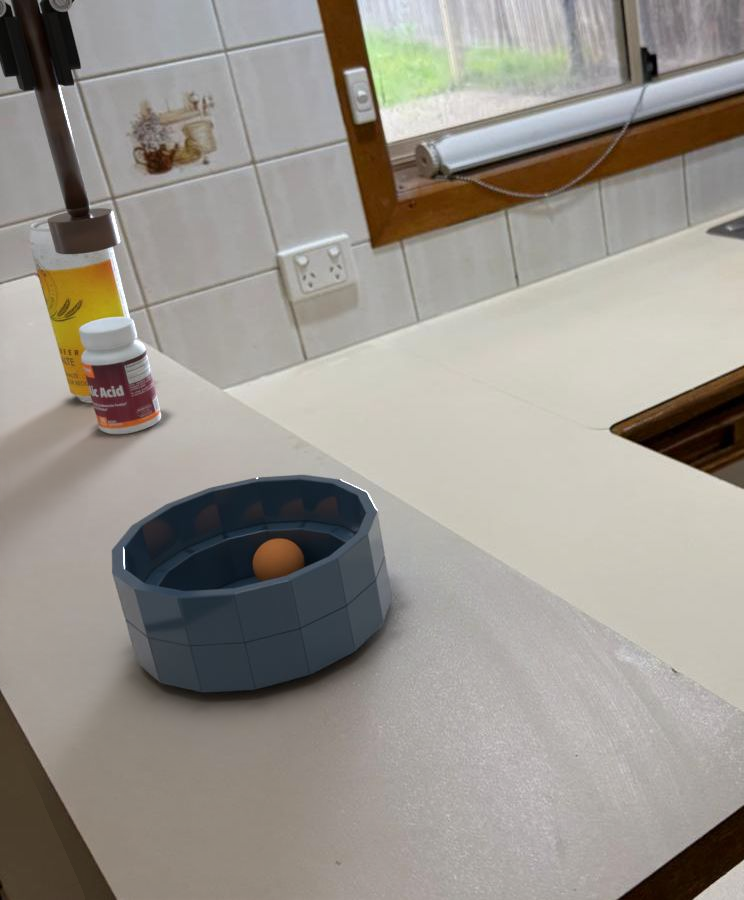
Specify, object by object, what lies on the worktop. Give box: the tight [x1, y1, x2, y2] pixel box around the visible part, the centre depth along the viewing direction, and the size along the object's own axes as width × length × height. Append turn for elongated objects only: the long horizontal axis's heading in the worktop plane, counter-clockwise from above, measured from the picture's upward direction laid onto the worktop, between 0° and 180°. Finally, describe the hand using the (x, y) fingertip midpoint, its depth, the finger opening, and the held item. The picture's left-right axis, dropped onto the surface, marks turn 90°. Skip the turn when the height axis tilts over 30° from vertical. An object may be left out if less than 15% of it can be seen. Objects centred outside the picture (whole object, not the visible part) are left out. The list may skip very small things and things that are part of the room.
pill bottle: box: [79, 317, 162, 435], centre depth 90 cm, size 5×5×8 cm
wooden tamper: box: [10, 0, 121, 254], centre depth 68 cm, size 4×4×15 cm
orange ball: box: [253, 538, 305, 582], centre depth 64 cm, size 3×3×3 cm
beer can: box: [28, 218, 131, 404], centre depth 96 cm, size 6×6×15 cm
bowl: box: [111, 474, 393, 693], centre depth 60 cm, size 13×13×6 cm
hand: (46, 84), depth 67 cm, fingers closed on wooden tamper, 1 cm apart
